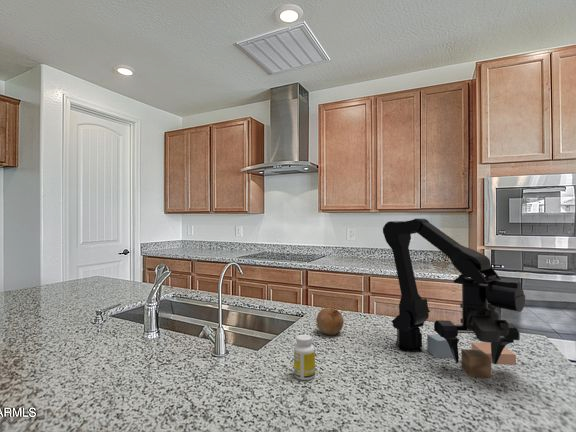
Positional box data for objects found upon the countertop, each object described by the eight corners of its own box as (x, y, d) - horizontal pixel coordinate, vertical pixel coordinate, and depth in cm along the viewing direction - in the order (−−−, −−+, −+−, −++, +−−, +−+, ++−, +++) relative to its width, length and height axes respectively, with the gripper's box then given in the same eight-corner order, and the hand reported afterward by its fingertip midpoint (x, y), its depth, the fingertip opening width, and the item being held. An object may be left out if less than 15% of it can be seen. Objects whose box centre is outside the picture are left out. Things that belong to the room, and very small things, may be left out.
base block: (484, 364, 87) (484, 353, 87) (471, 352, 95) (471, 342, 95) (516, 365, 86) (515, 354, 86) (499, 353, 94) (499, 343, 94)
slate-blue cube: (437, 358, 91) (437, 340, 91) (427, 351, 96) (427, 334, 96) (453, 357, 91) (453, 339, 91) (442, 350, 96) (442, 333, 96)
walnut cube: (470, 377, 80) (469, 357, 80) (461, 368, 85) (461, 349, 85) (491, 378, 79) (491, 358, 79) (481, 368, 84) (481, 350, 84)
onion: (339, 344, 108) (348, 322, 105) (312, 337, 109) (320, 314, 105) (338, 326, 117) (346, 304, 114) (313, 319, 117) (321, 297, 114)
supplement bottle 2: (504, 343, 101) (503, 305, 101) (480, 341, 102) (480, 304, 103) (494, 335, 108) (494, 300, 108) (472, 334, 109) (472, 299, 109)
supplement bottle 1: (317, 372, 83) (317, 334, 83) (312, 382, 78) (311, 342, 78) (297, 369, 84) (297, 332, 85) (291, 379, 79) (290, 339, 79)
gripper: (449, 310, 75) (449, 376, 75) (534, 312, 73) (535, 380, 73) (433, 298, 86) (433, 356, 86) (506, 300, 84) (507, 359, 84)
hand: (475, 362), depth 82 cm, fingers open, 9 cm apart
